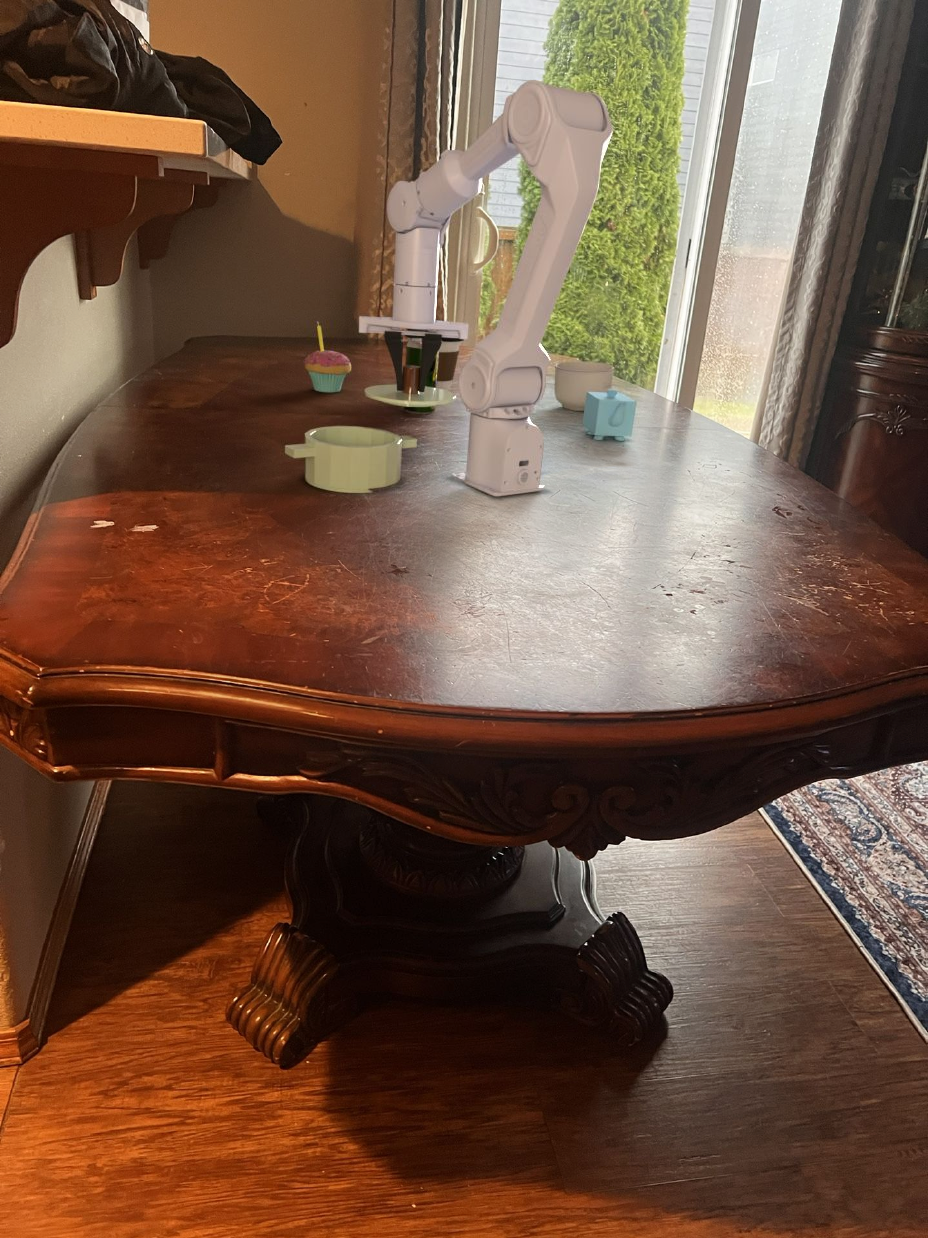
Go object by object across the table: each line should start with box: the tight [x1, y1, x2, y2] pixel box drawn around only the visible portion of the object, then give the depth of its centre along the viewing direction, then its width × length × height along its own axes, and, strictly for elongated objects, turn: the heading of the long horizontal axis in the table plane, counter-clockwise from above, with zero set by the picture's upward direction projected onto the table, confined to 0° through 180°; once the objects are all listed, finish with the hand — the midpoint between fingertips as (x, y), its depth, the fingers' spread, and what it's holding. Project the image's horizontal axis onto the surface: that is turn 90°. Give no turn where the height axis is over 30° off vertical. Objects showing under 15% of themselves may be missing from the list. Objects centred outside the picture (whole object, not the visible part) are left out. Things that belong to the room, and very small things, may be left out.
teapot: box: [582, 388, 638, 442], centre depth 143 cm, size 12×6×8 cm, turn 9°
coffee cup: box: [404, 329, 465, 392], centre depth 166 cm, size 11×11×12 cm
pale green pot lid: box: [363, 364, 457, 407], centre depth 123 cm, size 13×13×5 cm
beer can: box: [402, 338, 439, 415], centre depth 149 cm, size 5×5×12 cm
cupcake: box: [303, 320, 352, 393], centre depth 163 cm, size 9×8×12 cm
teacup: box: [554, 360, 615, 412], centre depth 167 cm, size 14×11×8 cm
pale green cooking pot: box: [284, 425, 418, 494], centre depth 110 cm, size 12×17×5 cm
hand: (410, 390), depth 123 cm, fingers closed on pale green pot lid, 2 cm apart
